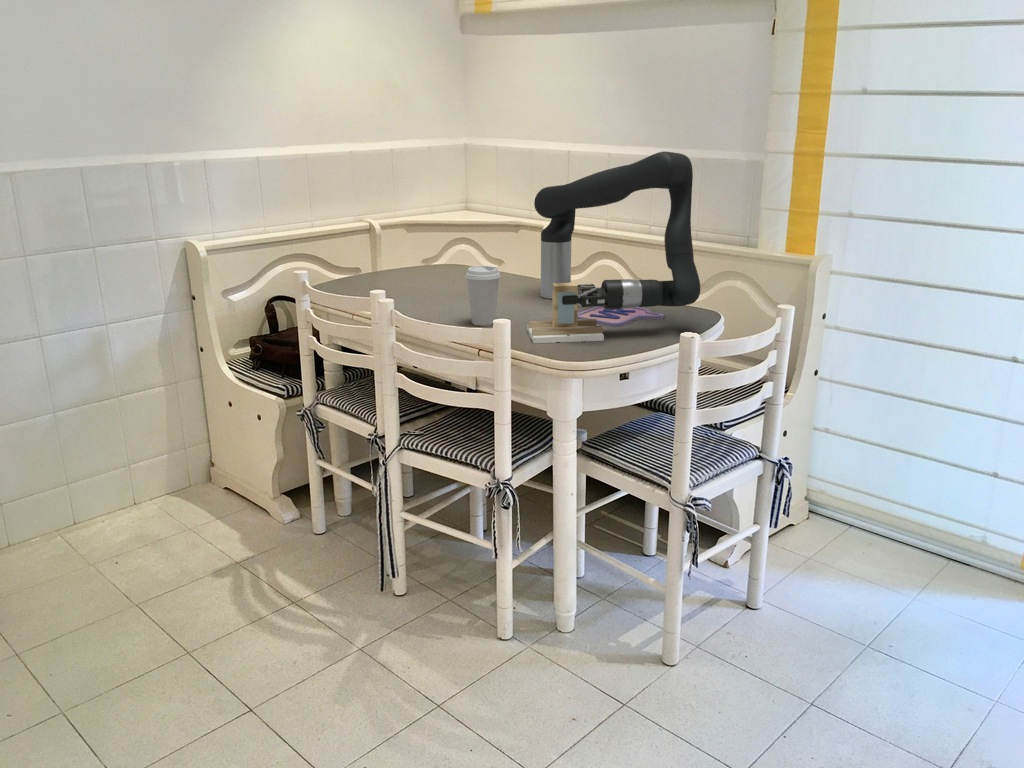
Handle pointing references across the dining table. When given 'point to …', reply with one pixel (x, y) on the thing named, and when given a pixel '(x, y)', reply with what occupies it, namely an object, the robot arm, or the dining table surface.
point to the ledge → (565, 332)
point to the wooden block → (564, 306)
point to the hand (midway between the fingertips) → (559, 296)
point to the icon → (618, 315)
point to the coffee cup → (483, 293)
